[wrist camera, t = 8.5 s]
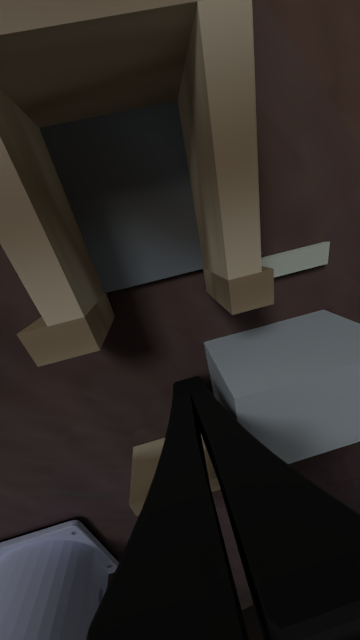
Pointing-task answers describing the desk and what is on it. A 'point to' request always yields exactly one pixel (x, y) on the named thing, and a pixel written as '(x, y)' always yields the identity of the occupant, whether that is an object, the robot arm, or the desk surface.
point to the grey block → (292, 383)
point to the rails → (297, 259)
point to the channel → (127, 165)
